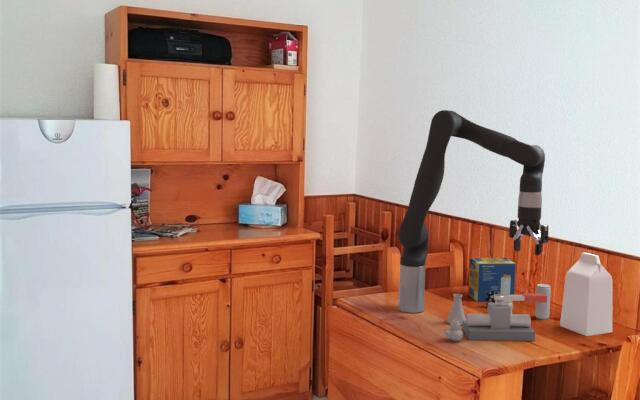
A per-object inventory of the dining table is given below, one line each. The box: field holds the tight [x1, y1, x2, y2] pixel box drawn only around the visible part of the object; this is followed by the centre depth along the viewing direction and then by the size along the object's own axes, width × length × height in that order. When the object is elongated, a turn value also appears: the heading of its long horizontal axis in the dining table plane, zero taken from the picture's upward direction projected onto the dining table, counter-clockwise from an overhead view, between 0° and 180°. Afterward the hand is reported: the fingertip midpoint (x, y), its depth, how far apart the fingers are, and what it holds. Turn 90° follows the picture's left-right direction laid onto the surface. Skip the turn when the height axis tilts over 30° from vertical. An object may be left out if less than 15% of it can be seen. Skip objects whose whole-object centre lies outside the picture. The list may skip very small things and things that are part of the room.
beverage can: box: [534, 283, 552, 321], centre depth 234 cm, size 5×5×12 cm
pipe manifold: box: [462, 301, 536, 342], centre depth 215 cm, size 21×11×11 cm, turn 89°
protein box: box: [468, 257, 517, 303], centre depth 260 cm, size 10×15×16 cm
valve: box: [484, 291, 514, 314], centre depth 242 cm, size 7×7×12 cm
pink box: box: [494, 292, 547, 304], centre depth 214 cm, size 16×3×2 cm, turn 89°
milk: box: [559, 252, 614, 337], centre depth 221 cm, size 12×12×26 cm
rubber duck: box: [444, 317, 464, 342], centre depth 209 cm, size 5×7×8 cm
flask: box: [446, 293, 467, 326], centre depth 228 cm, size 7×7×10 cm
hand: (527, 253), depth 220 cm, fingers open, 8 cm apart
